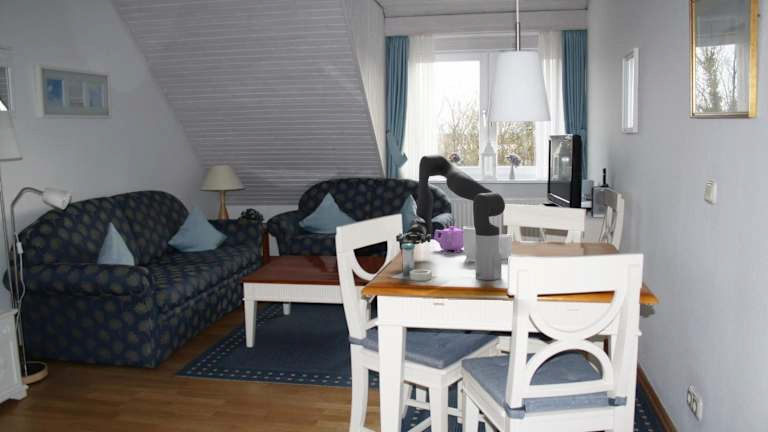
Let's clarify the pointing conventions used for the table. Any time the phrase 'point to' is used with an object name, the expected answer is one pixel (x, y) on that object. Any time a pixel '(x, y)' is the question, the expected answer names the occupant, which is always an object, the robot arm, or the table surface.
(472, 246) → the jar
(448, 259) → the table surface
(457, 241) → the pot
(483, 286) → the table surface
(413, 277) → the dock
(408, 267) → the teal capped bottle
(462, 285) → the table surface
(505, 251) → the white cup
